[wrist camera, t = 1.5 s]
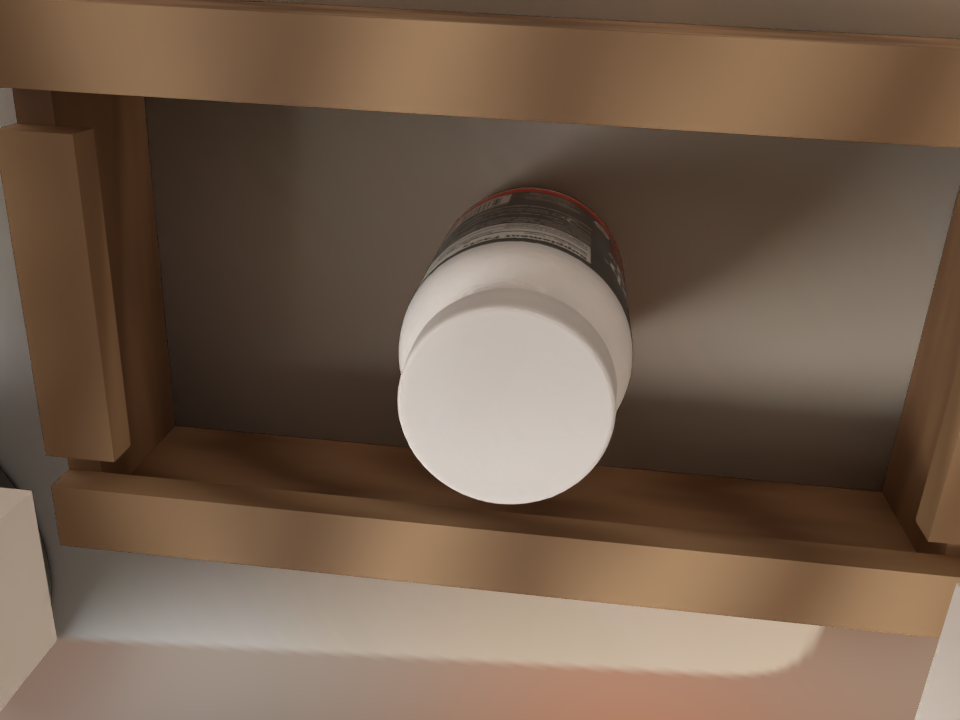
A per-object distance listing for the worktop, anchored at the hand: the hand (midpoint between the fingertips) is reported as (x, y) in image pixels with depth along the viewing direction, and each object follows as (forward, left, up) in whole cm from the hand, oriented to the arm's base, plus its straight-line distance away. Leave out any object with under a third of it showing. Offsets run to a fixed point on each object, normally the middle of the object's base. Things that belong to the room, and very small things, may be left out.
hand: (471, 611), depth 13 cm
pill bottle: (0, 0, -17) cm, 17 cm away
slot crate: (0, 0, -16) cm, 16 cm away
